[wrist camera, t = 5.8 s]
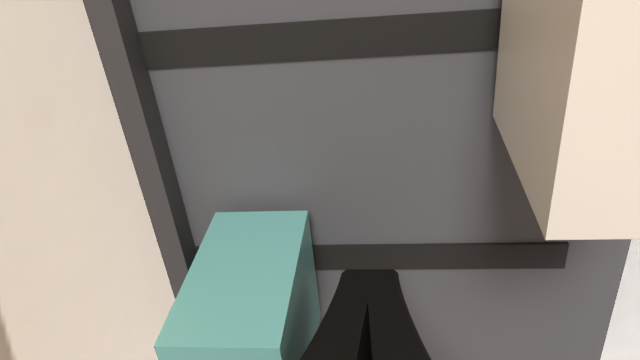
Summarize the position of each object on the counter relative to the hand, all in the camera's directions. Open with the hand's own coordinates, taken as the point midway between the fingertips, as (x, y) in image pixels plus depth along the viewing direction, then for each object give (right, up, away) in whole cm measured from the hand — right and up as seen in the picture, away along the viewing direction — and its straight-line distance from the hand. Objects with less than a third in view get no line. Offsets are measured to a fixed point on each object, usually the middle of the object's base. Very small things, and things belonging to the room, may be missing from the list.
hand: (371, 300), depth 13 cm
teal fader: (-3, +1, +1) cm, 3 cm away
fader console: (+1, +3, +1) cm, 4 cm away
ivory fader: (+3, +6, -3) cm, 7 cm away
